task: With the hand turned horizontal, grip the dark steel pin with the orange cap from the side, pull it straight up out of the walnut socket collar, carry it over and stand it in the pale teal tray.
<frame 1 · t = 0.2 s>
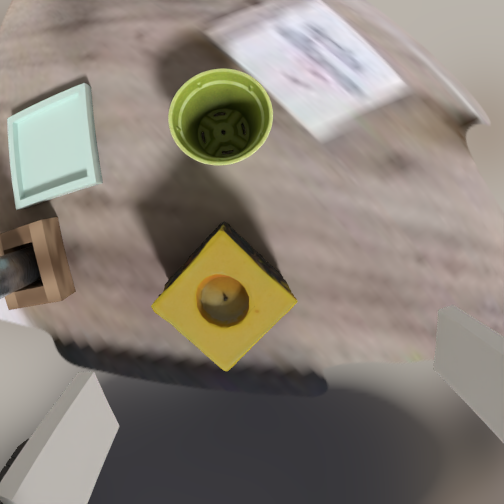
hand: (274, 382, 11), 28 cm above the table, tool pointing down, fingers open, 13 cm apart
socket collar: (38, 261, 37), on the table
tray: (53, 148, 34), on the table
plant pot: (223, 132, 36), on the table
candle: (225, 279, 39), on the table
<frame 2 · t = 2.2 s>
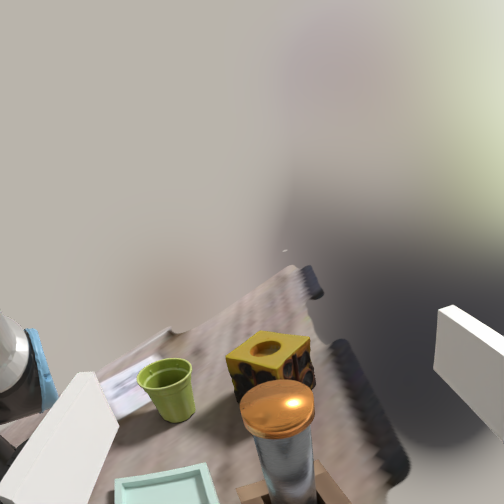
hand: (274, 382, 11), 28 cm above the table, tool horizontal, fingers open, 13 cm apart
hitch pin: (289, 475, 24), in the socket collar
plant pot: (178, 413, 50), on the table
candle: (277, 396, 51), on the table
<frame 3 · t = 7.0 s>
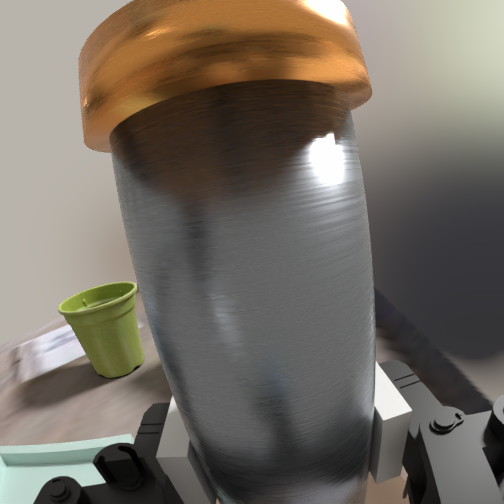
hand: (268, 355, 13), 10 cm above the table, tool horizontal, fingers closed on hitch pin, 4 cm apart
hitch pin: (287, 454, 7), in the socket collar, touching gripper
plant pot: (120, 366, 33), on the table
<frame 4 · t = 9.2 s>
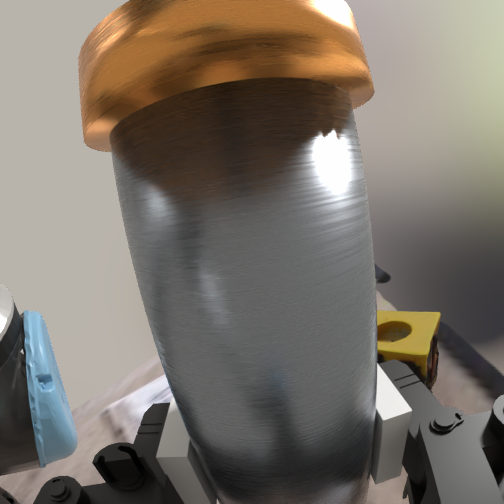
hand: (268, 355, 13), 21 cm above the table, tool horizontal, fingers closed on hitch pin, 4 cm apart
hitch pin: (288, 454, 7), point 20 cm above the table, touching gripper
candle: (393, 397, 35), on the table
when the fingers open (12 cm above the table, at t = 11.3 s): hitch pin stays where it is, resting on tray.
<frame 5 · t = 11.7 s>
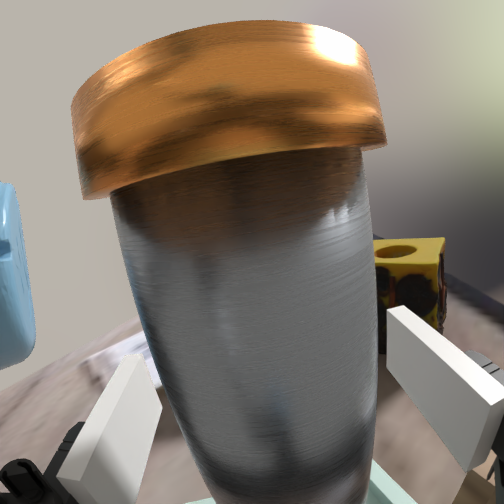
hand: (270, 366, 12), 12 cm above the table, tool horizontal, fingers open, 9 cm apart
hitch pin: (290, 478, 7), in the tray, point 11 cm above the table
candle: (401, 334, 33), on the table
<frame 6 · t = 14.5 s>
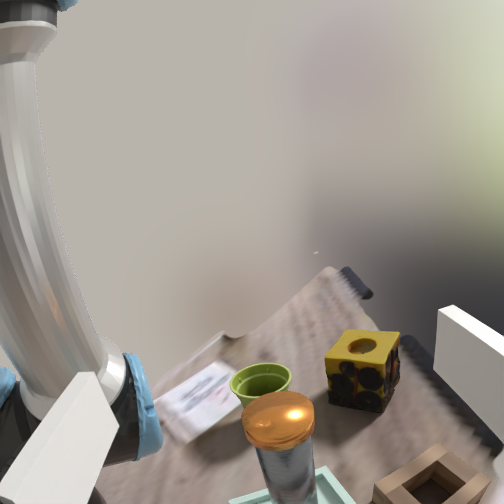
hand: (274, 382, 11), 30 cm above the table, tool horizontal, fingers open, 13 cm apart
socket collar: (427, 501, 24), on the table
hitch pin: (291, 483, 24), in the tray, point 11 cm above the table
plant pot: (268, 420, 48), on the table
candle: (365, 392, 50), on the table
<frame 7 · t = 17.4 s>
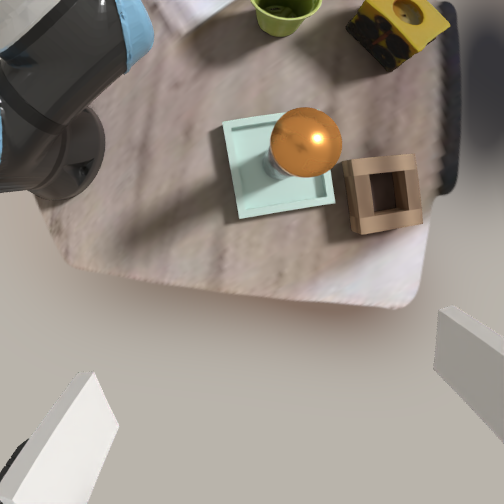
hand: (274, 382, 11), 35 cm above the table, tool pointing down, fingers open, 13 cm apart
socket collar: (378, 191, 44), on the table
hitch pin: (289, 155, 32), in the tray, point 11 cm above the table
tray: (278, 162, 43), on the table
plant pot: (277, 21, 39), on the table
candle: (383, 37, 39), on the table
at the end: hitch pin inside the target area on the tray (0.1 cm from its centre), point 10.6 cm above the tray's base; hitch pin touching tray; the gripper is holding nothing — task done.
